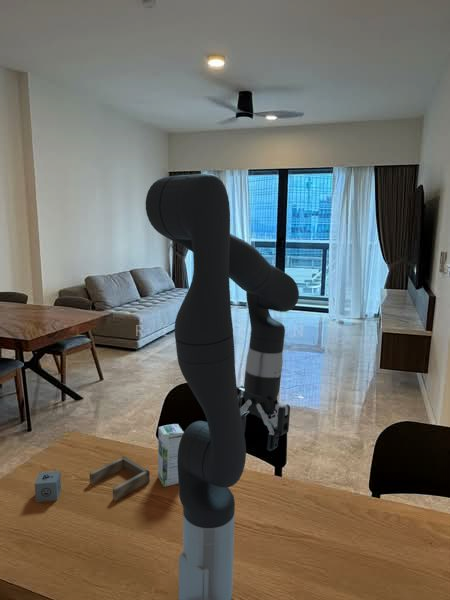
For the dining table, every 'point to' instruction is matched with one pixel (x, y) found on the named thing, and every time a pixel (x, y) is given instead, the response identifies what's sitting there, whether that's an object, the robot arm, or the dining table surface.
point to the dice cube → (48, 486)
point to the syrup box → (168, 453)
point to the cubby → (127, 486)
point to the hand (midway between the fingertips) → (255, 441)
